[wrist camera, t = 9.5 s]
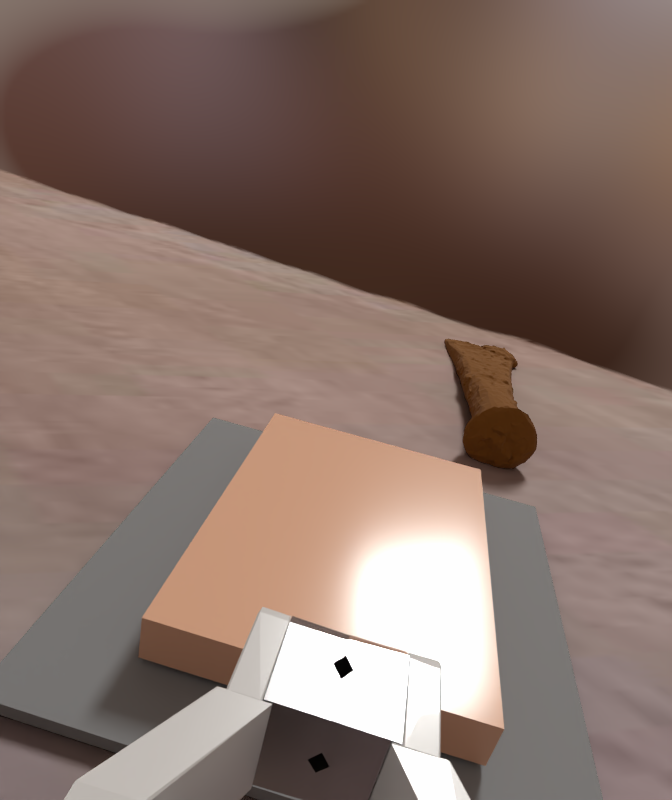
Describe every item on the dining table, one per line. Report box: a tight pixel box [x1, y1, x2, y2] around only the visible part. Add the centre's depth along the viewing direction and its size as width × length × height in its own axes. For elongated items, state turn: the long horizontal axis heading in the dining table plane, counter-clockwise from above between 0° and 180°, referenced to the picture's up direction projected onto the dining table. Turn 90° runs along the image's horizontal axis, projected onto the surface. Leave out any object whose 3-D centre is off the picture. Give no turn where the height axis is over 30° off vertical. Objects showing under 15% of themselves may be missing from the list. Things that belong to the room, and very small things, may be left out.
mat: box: [0, 418, 603, 800], centre depth 20 cm, size 15×15×1 cm
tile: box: [138, 413, 504, 766], centre depth 20 cm, size 9×2×12 cm
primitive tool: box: [445, 339, 537, 469], centre depth 37 cm, size 19×6×4 cm, turn 172°
